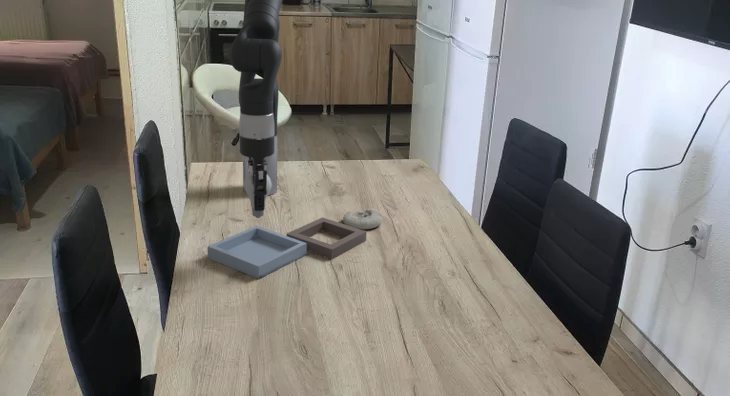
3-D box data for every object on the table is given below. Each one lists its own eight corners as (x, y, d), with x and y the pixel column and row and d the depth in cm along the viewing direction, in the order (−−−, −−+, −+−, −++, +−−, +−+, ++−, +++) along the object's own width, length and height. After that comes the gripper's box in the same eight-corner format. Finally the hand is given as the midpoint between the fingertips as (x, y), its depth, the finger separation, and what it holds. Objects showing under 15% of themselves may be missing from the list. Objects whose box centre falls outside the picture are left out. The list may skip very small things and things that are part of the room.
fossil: (362, 200, 179) (392, 213, 174) (360, 212, 180) (389, 225, 175) (337, 210, 170) (367, 224, 165) (335, 222, 172) (364, 237, 167)
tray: (207, 258, 149) (207, 246, 148) (256, 236, 161) (256, 225, 160) (259, 279, 141) (259, 266, 140) (306, 254, 153) (306, 243, 152)
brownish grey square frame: (286, 243, 159) (286, 233, 158) (322, 226, 170) (322, 217, 169) (331, 259, 152) (332, 249, 151) (366, 240, 162) (366, 231, 162)
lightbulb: (246, 223, 144) (245, 176, 140) (242, 213, 149) (241, 168, 146) (273, 221, 146) (273, 175, 142) (268, 211, 151) (268, 166, 148)
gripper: (236, 124, 146) (238, 195, 152) (242, 142, 133) (243, 218, 139) (270, 124, 148) (270, 193, 154) (279, 141, 135) (278, 216, 141)
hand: (257, 205), depth 147 cm, fingers closed on lightbulb, 5 cm apart
